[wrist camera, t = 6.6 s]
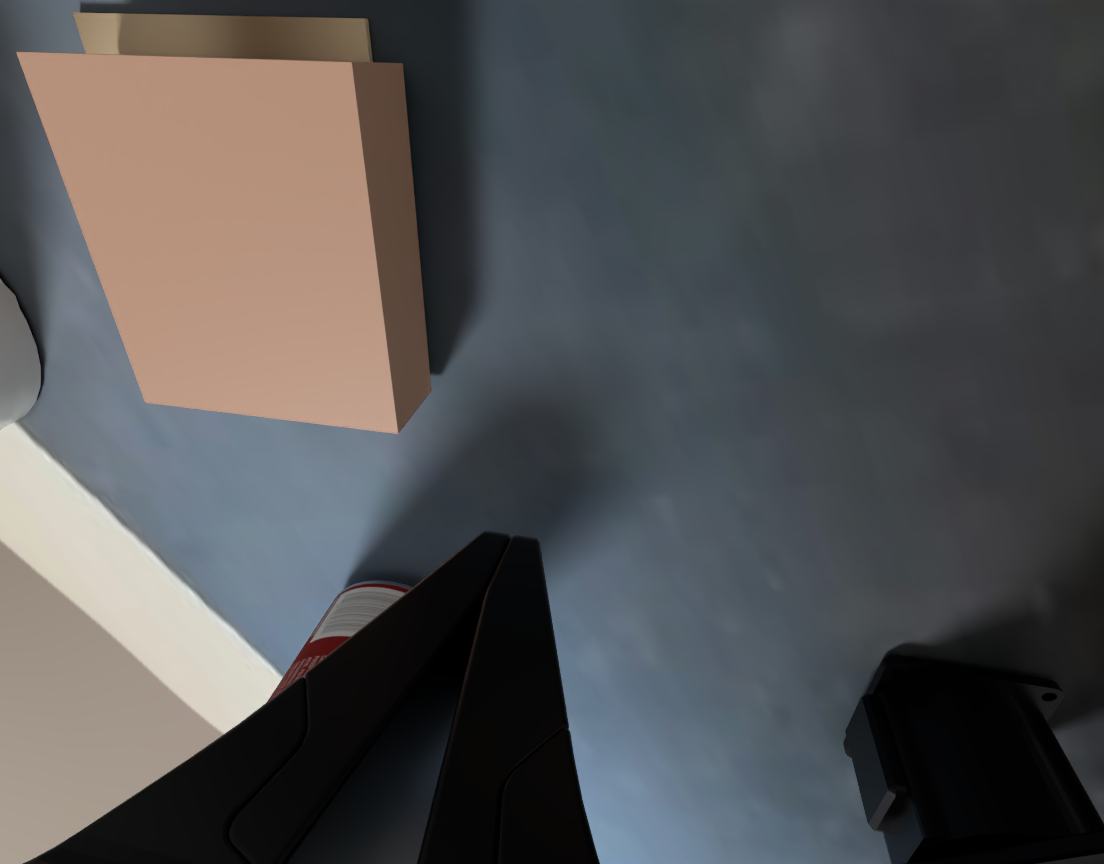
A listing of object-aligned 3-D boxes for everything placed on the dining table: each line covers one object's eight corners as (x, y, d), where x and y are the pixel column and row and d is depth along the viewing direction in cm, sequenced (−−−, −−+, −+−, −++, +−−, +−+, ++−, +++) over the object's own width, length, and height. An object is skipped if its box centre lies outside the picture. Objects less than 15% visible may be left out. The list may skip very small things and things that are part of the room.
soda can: (329, 557, 28) (127, 838, 18) (471, 584, 27) (345, 894, 17) (347, 654, 31) (186, 934, 21) (473, 680, 30) (368, 984, 20)
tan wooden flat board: (368, 18, 16) (364, 18, 16) (410, 406, 23) (408, 409, 22) (78, 12, 18) (72, 12, 17) (194, 381, 24) (190, 383, 24)
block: (351, 62, 14) (15, 52, 15) (398, 433, 19) (145, 402, 20) (405, 63, 17) (116, 54, 18) (433, 388, 22) (208, 363, 23)
